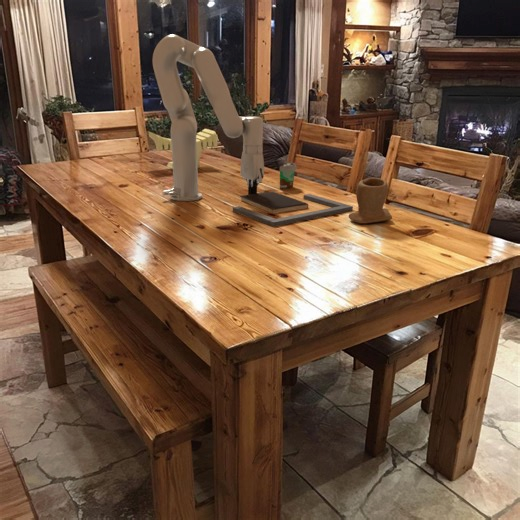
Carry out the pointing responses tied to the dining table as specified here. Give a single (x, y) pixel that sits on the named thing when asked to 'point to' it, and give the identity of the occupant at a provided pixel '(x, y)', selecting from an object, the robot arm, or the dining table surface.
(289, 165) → the food container
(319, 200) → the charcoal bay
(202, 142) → the slatted curved stool
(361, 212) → the stone cup
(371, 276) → the dining table surface
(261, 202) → the hardcover book
